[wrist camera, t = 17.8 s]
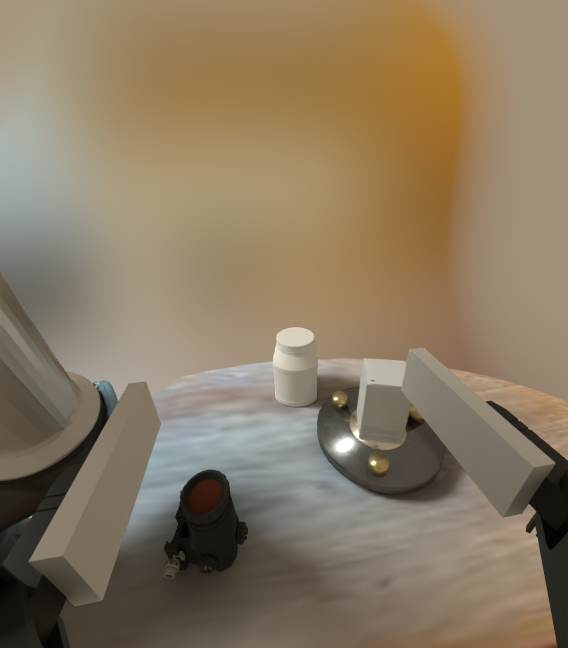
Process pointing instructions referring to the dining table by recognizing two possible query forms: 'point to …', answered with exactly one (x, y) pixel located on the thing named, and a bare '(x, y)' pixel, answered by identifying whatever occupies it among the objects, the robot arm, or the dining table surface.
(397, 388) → the supplement box
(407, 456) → the base
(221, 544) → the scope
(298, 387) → the jar
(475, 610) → the dining table surface
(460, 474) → the dining table surface
